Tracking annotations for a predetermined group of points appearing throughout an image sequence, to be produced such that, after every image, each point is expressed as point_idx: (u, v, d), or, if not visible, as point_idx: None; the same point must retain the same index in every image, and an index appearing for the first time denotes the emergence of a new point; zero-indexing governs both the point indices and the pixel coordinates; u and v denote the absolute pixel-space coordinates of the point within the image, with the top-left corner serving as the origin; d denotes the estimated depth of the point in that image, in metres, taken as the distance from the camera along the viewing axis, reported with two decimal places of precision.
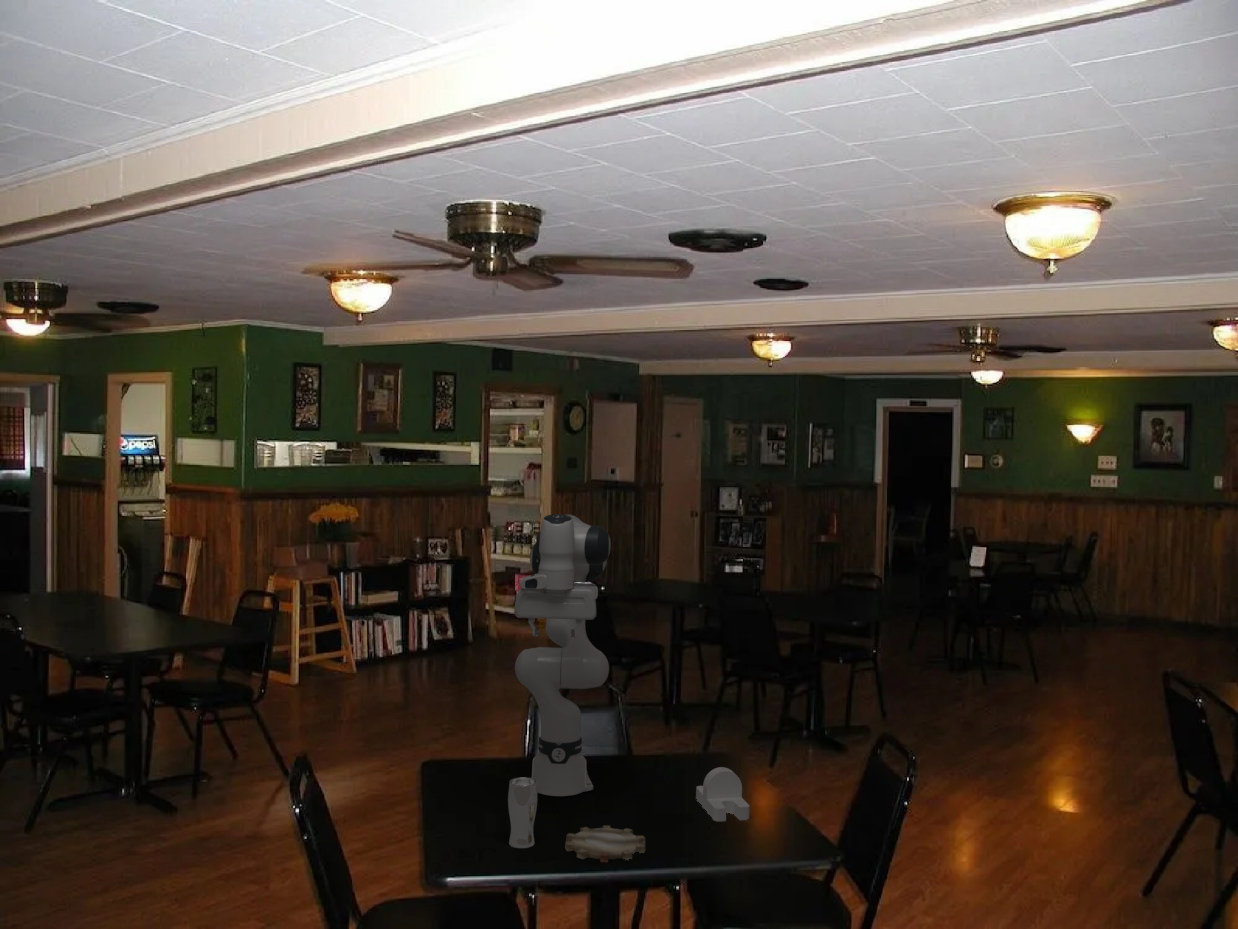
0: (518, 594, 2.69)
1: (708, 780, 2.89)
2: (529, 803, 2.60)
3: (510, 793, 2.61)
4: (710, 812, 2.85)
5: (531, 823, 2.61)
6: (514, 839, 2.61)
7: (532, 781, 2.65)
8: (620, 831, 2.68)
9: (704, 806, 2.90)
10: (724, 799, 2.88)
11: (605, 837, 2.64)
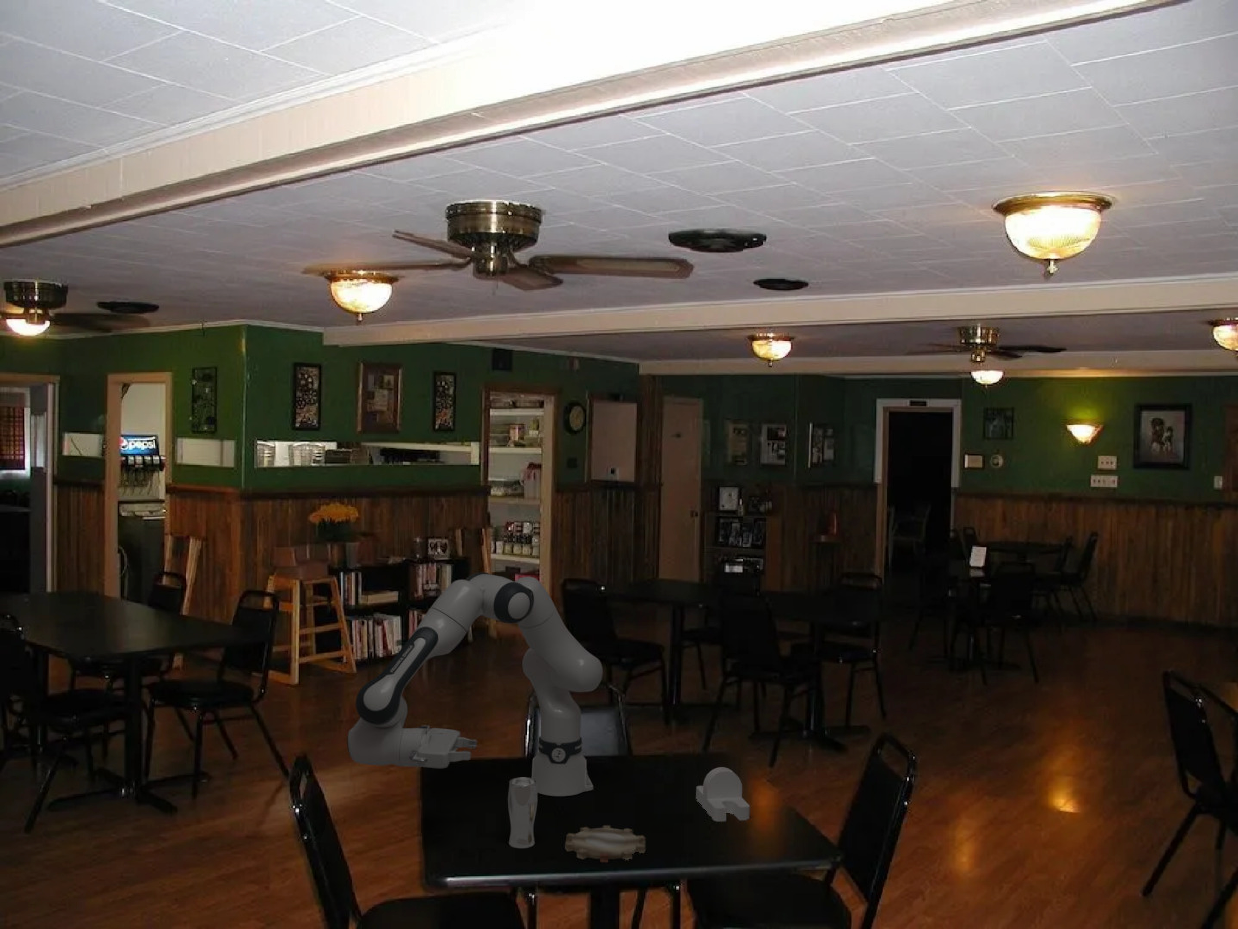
0: None
1: (708, 780, 2.89)
2: (529, 803, 2.60)
3: (510, 793, 2.61)
4: (710, 812, 2.85)
5: (531, 823, 2.61)
6: (514, 839, 2.61)
7: (532, 781, 2.65)
8: (620, 831, 2.68)
9: (704, 806, 2.90)
10: (724, 799, 2.88)
11: (605, 837, 2.64)
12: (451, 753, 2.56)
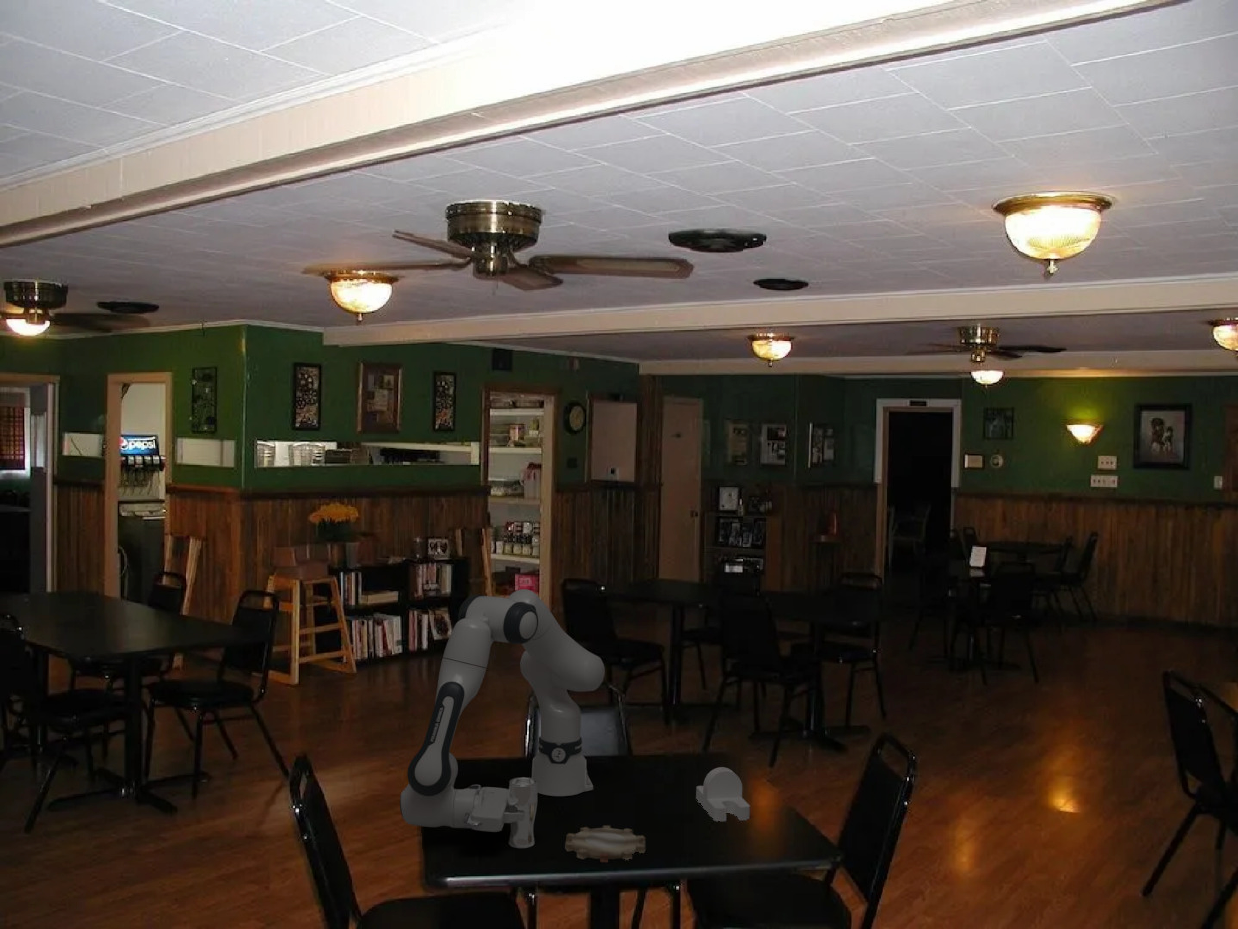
0: None
1: (709, 780, 2.89)
2: (529, 803, 2.60)
3: (510, 793, 2.61)
4: (710, 812, 2.85)
5: (531, 823, 2.61)
6: (514, 839, 2.61)
7: (532, 781, 2.65)
8: (620, 831, 2.68)
9: (704, 806, 2.90)
10: (724, 799, 2.88)
11: (605, 837, 2.64)
12: (505, 814, 2.57)
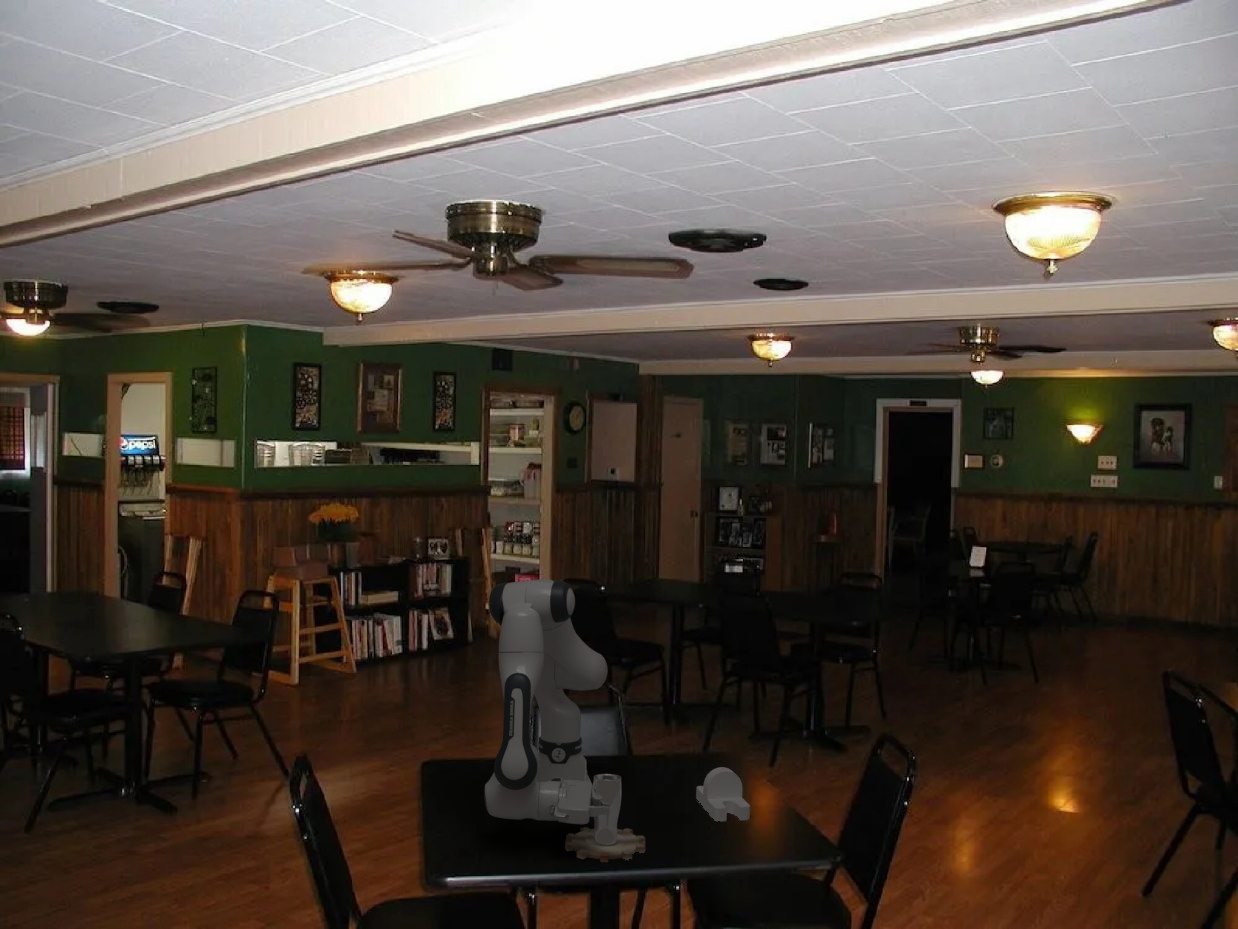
0: None
1: (709, 780, 2.89)
2: (614, 798, 2.59)
3: (595, 788, 2.60)
4: (710, 812, 2.85)
5: (615, 819, 2.60)
6: (598, 835, 2.59)
7: (616, 777, 2.64)
8: (620, 831, 2.68)
9: (704, 806, 2.90)
10: (724, 799, 2.88)
11: None
12: (591, 808, 2.56)
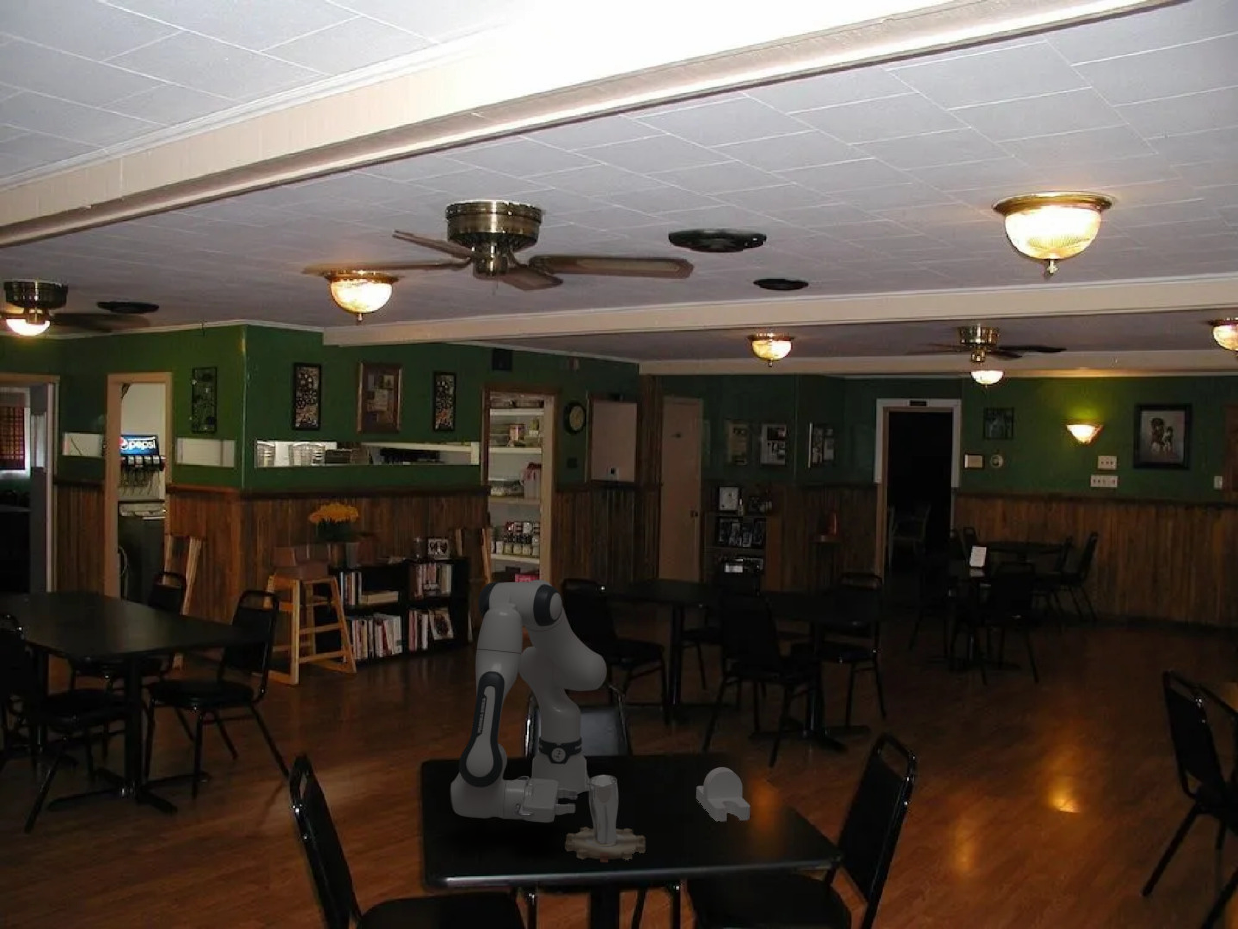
0: None
1: (709, 780, 2.89)
2: (611, 802, 2.57)
3: (591, 793, 2.58)
4: (710, 812, 2.85)
5: (614, 821, 2.59)
6: (598, 838, 2.59)
7: (611, 778, 2.62)
8: (620, 831, 2.68)
9: (704, 806, 2.90)
10: (724, 799, 2.88)
11: None
12: (556, 806, 2.56)
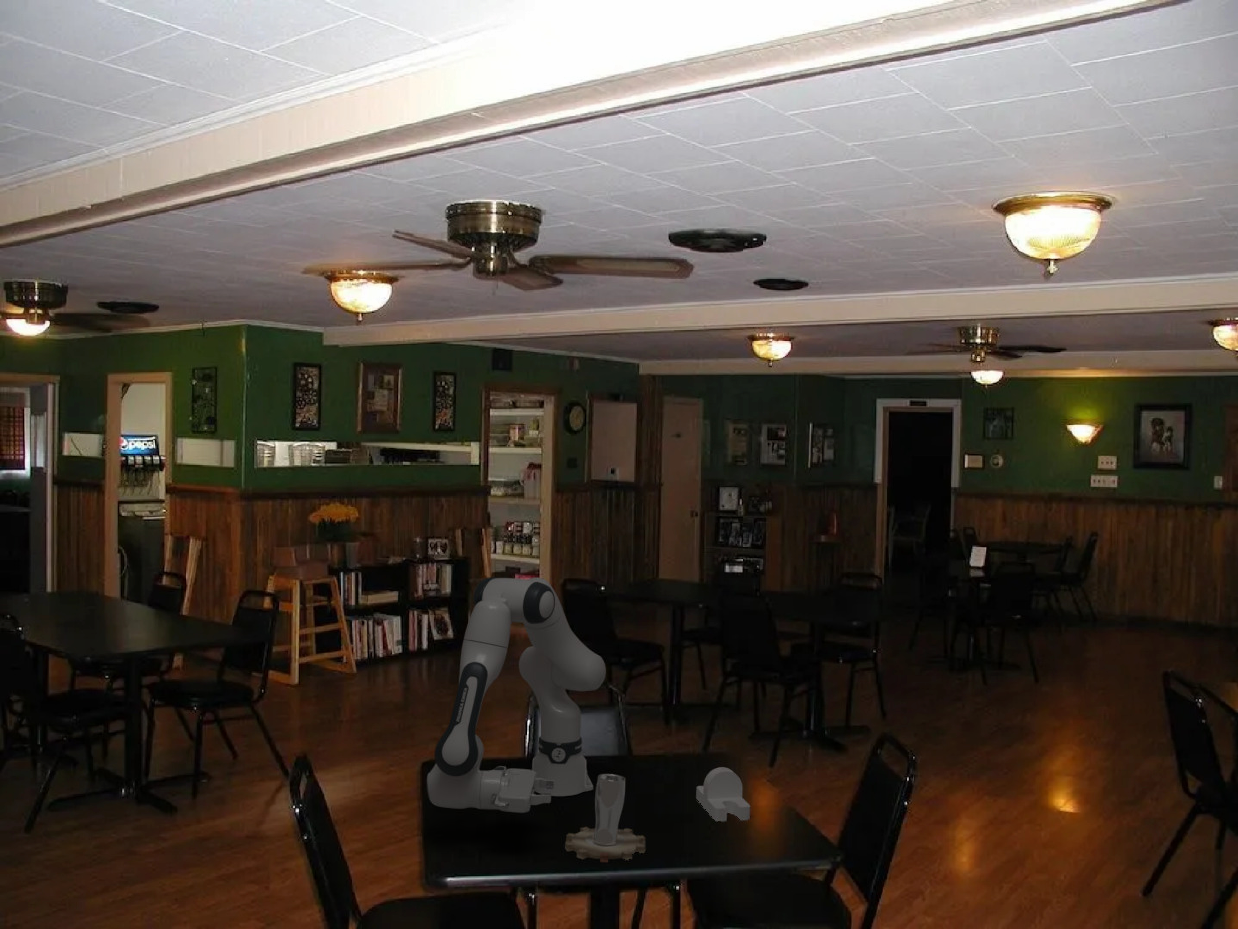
0: None
1: (709, 780, 2.89)
2: (618, 799, 2.59)
3: (599, 788, 2.59)
4: (710, 812, 2.85)
5: (617, 820, 2.60)
6: (599, 835, 2.59)
7: (619, 778, 2.64)
8: (620, 831, 2.68)
9: (704, 806, 2.90)
10: (724, 799, 2.88)
11: None
12: (532, 796, 2.57)
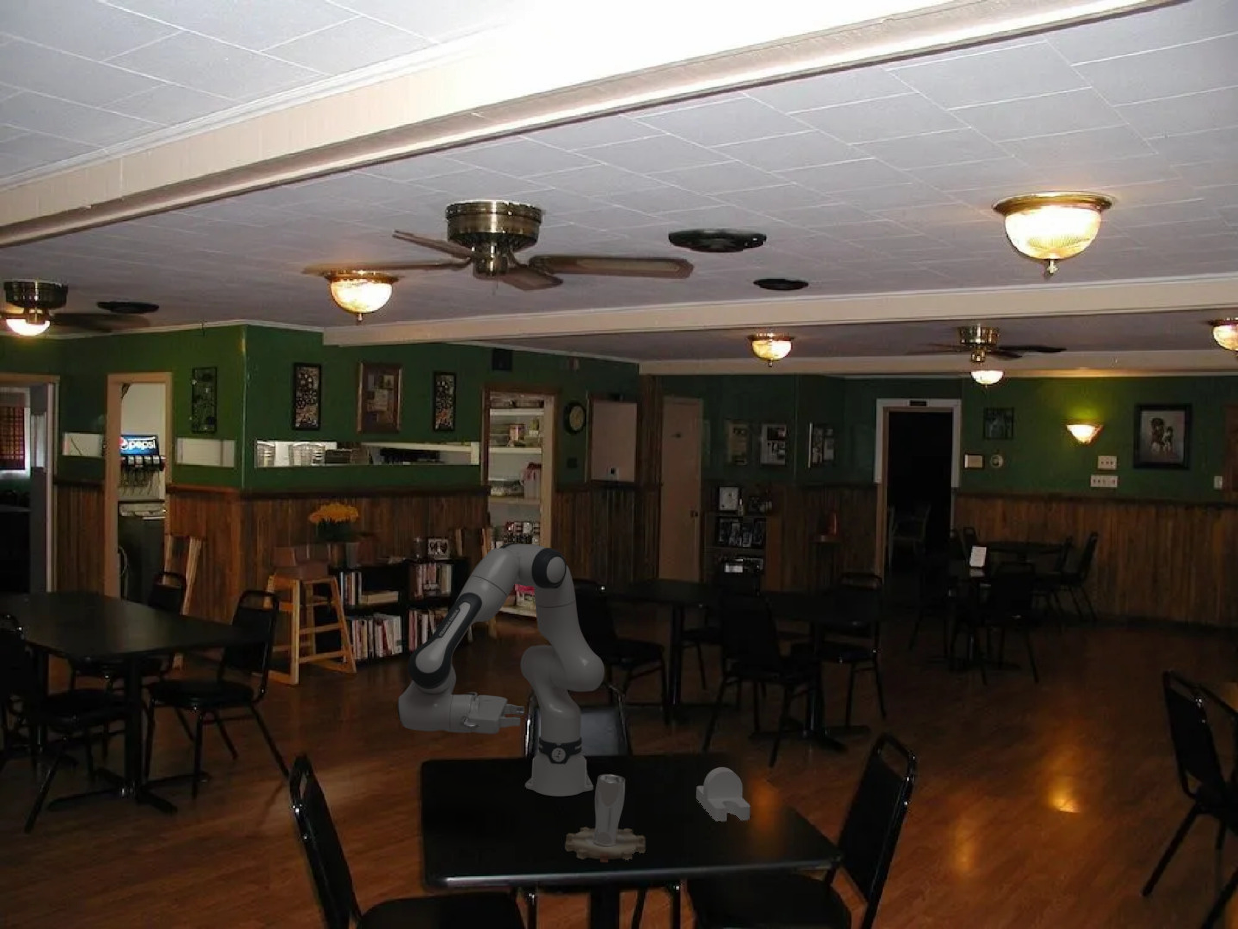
0: None
1: (709, 780, 2.89)
2: (618, 800, 2.58)
3: (599, 789, 2.59)
4: (710, 812, 2.85)
5: (617, 821, 2.60)
6: (600, 836, 2.59)
7: (619, 779, 2.63)
8: (620, 831, 2.68)
9: (704, 806, 2.90)
10: (725, 799, 2.88)
11: None
12: (501, 719, 2.59)
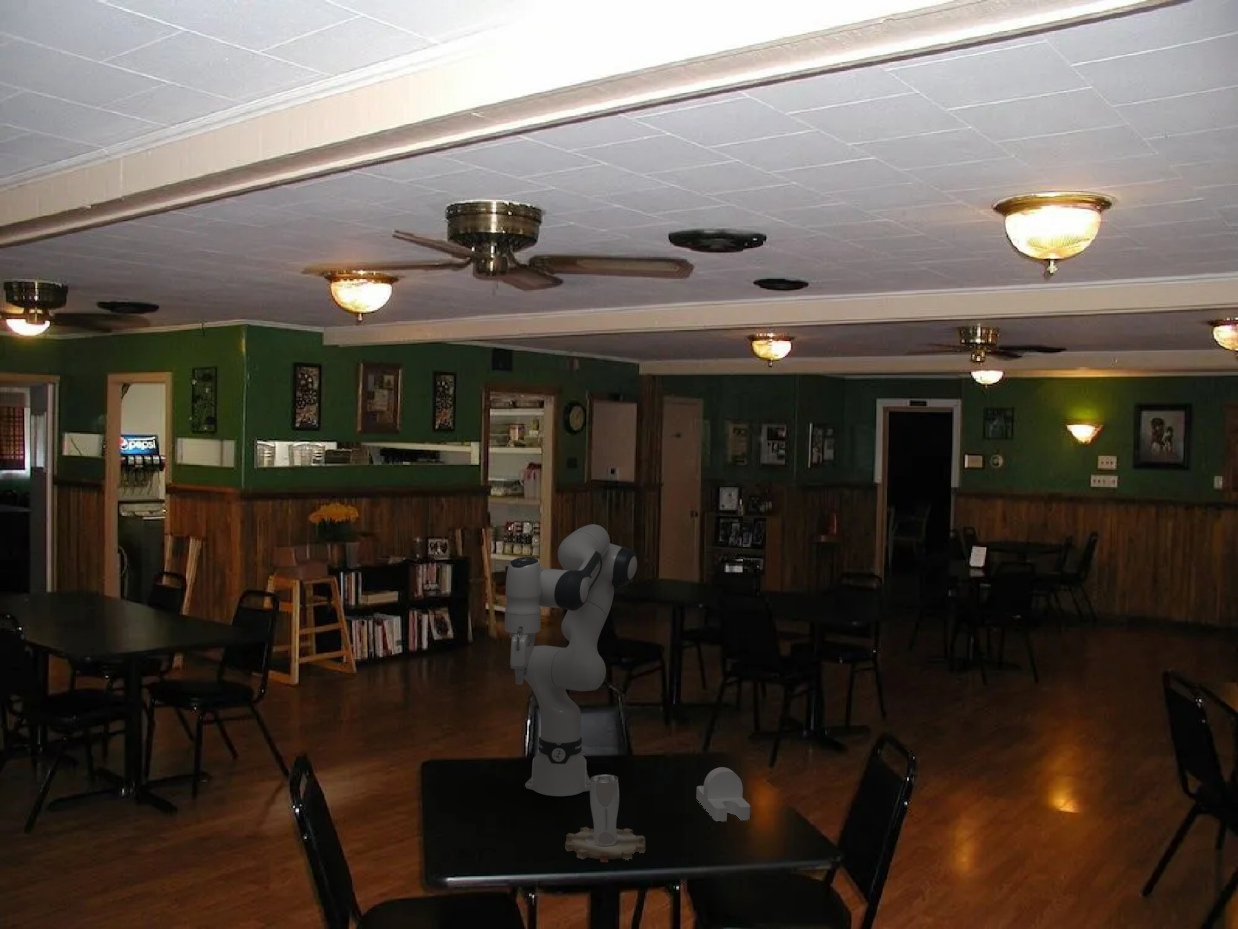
0: None
1: (709, 780, 2.89)
2: (613, 799, 2.58)
3: (593, 790, 2.59)
4: (710, 812, 2.85)
5: (615, 819, 2.60)
6: (599, 837, 2.59)
7: (611, 777, 2.64)
8: (620, 831, 2.68)
9: (705, 806, 2.90)
10: (725, 799, 2.88)
11: None
12: None
